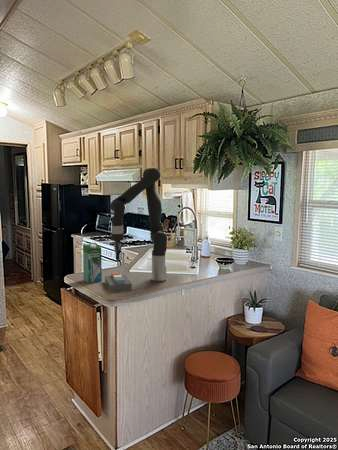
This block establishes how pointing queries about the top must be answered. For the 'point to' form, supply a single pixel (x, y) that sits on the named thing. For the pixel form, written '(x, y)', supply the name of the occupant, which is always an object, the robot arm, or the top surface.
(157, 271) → the robot arm
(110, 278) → the key panel
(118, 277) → the white key
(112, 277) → the red key
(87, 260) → the milk carton
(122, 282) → the blue key
